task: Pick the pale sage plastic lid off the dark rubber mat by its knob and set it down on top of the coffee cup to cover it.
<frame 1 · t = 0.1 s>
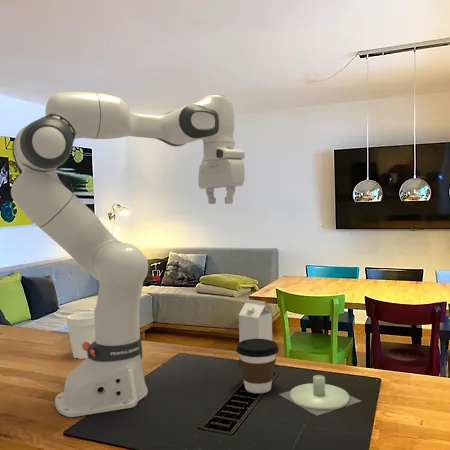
hand: (220, 203, 133), 48 cm above the kitchen island, fingers open, 8 cm apart
mat: (319, 399, 114), on the kitchen island
coffee cup: (258, 391, 120), on the kitchen island
foam cup: (83, 356, 151), on the kitchen island
milk carton: (256, 364, 140), on the kitchen island
lid: (319, 397, 114), point 1 cm above the kitchen island, touching mat
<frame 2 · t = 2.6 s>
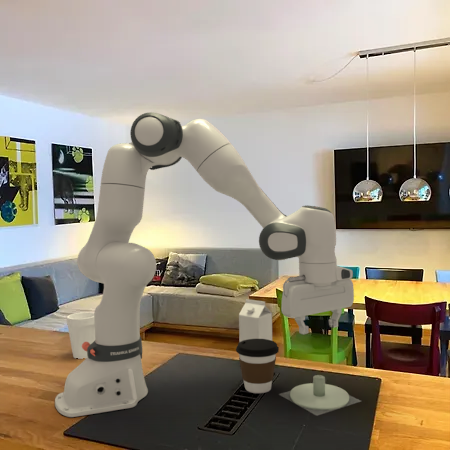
hand: (319, 330, 113), 17 cm above the kitchen island, fingers open, 8 cm apart
nothing on the kitchen island moved.
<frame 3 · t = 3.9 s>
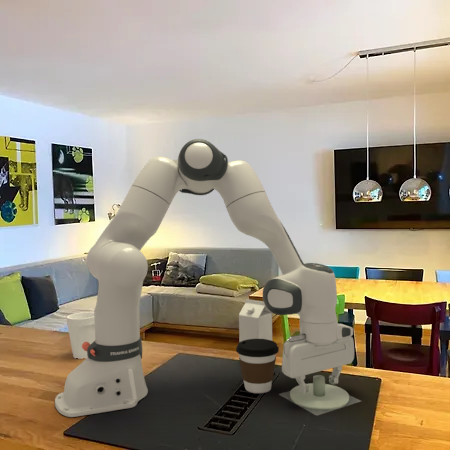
hand: (319, 387, 114), 3 cm above the kitchen island, fingers open, 8 cm apart
nothing on the kitchen island moved.
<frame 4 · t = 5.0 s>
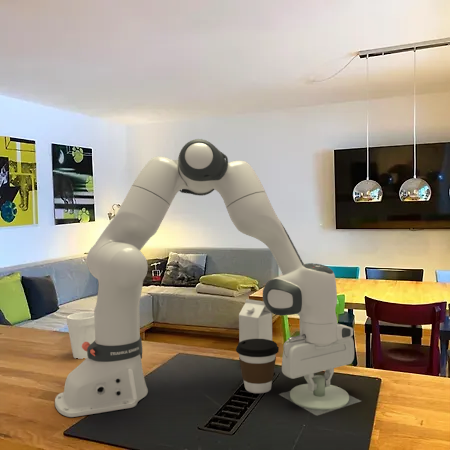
hand: (319, 388, 113), 3 cm above the kitchen island, fingers closed on lid, 3 cm apart
lid: (319, 397, 114), point 1 cm above the kitchen island, touching gripper, mat
everything else where it was.
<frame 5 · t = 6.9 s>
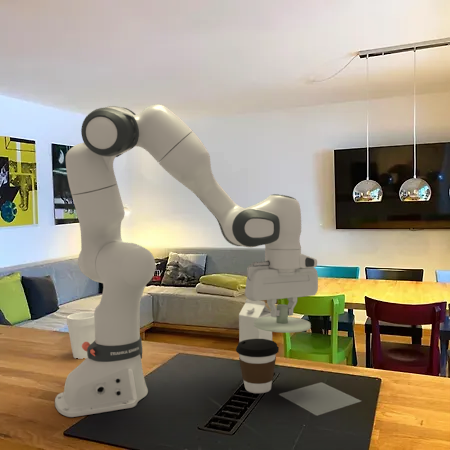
hand: (281, 316, 116), 20 cm above the kitchen island, fingers closed on lid, 3 cm apart
lid: (282, 325, 116), point 17 cm above the kitchen island, touching gripper
everything else where it was.
when the fingers open (16 cm above the kitchen island, at t = 8.9 s): lid drops 2 cm, resting on coffee cup.
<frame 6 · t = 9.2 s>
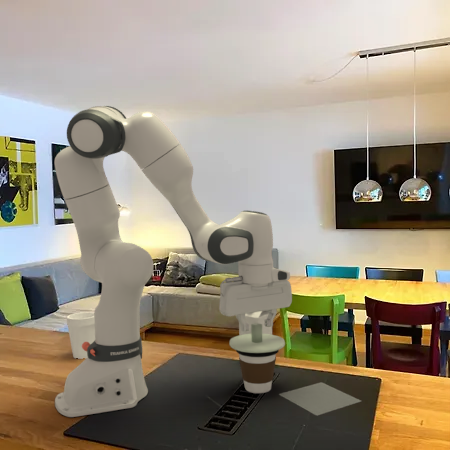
hand: (256, 328, 119), 16 cm above the kitchen island, fingers open, 6 cm apart
coffee cup: (258, 391, 120), on the kitchen island, touching lid
lid: (257, 344, 120), point 12 cm above the kitchen island, touching coffee cup
everything else where it was.
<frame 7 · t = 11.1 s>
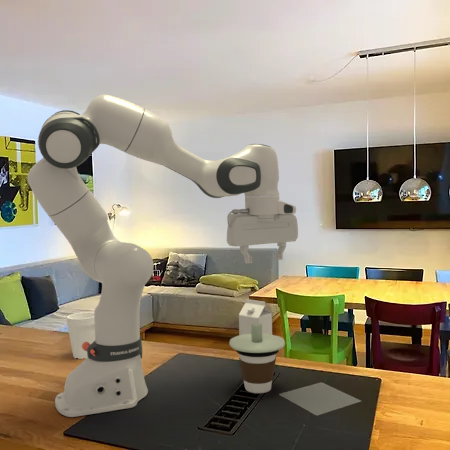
hand: (263, 261, 122), 33 cm above the kitchen island, fingers open, 8 cm apart
nothing on the kitchen island moved.
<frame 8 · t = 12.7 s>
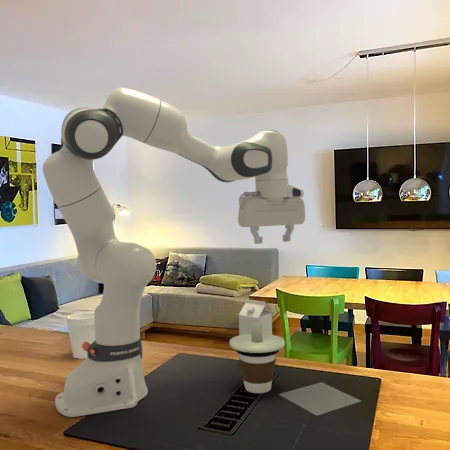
hand: (272, 242, 127), 37 cm above the kitchen island, fingers open, 8 cm apart
nothing on the kitchen island moved.
at the end: lid 0.1 cm from the coffee cup (horizontally); lid point 12.0 cm above the kitchen island; lid tilted 0° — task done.
